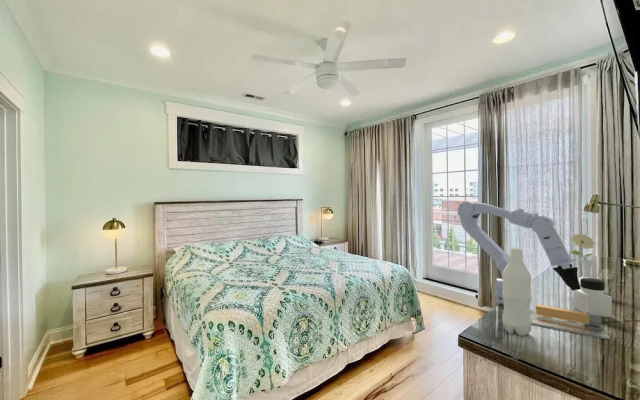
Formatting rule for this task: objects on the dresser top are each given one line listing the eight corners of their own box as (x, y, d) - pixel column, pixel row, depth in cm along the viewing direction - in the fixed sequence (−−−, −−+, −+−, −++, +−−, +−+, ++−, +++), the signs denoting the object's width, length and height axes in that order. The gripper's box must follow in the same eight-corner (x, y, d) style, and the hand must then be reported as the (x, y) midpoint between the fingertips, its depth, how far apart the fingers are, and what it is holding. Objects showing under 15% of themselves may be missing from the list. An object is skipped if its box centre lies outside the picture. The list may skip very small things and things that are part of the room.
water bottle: (523, 340, 78) (523, 252, 78) (497, 329, 84) (497, 248, 84) (536, 334, 81) (536, 250, 81) (510, 324, 88) (510, 246, 88)
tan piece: (536, 315, 91) (536, 306, 91) (535, 312, 94) (535, 303, 94) (602, 327, 83) (602, 317, 83) (599, 323, 85) (599, 313, 85)
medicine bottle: (612, 317, 93) (612, 282, 93) (588, 315, 95) (587, 281, 95) (596, 309, 100) (596, 276, 100) (573, 308, 102) (573, 275, 102)
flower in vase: (613, 295, 115) (613, 236, 115) (586, 295, 115) (586, 236, 116) (584, 286, 128) (584, 232, 128) (559, 285, 128) (559, 232, 129)
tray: (530, 324, 88) (530, 321, 88) (527, 309, 100) (527, 307, 100) (611, 340, 78) (611, 336, 78) (597, 322, 90) (597, 319, 90)
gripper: (572, 246, 89) (594, 288, 85) (565, 245, 101) (584, 282, 97) (546, 251, 92) (566, 293, 88) (542, 250, 104) (559, 286, 100)
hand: (574, 288), depth 93 cm, fingers open, 7 cm apart
